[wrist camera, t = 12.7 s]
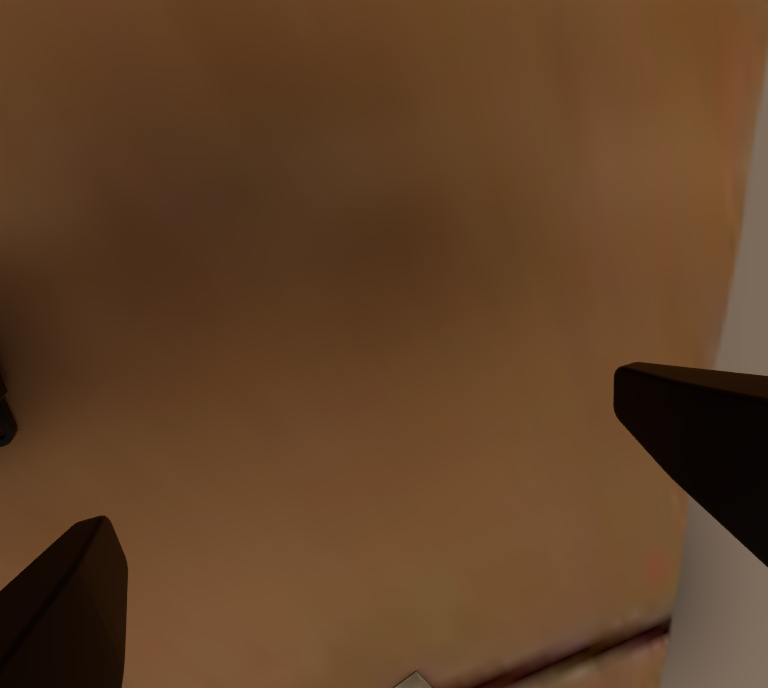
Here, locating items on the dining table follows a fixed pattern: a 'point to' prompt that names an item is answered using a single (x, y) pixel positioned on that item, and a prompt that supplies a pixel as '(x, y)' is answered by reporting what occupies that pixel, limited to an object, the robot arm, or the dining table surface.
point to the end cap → (414, 682)
